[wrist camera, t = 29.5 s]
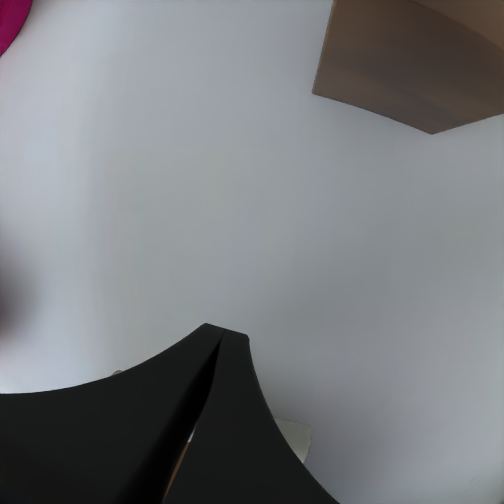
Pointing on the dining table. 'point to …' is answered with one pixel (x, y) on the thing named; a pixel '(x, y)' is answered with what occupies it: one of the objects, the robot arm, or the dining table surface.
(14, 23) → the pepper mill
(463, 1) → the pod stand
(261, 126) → the dining table surface
